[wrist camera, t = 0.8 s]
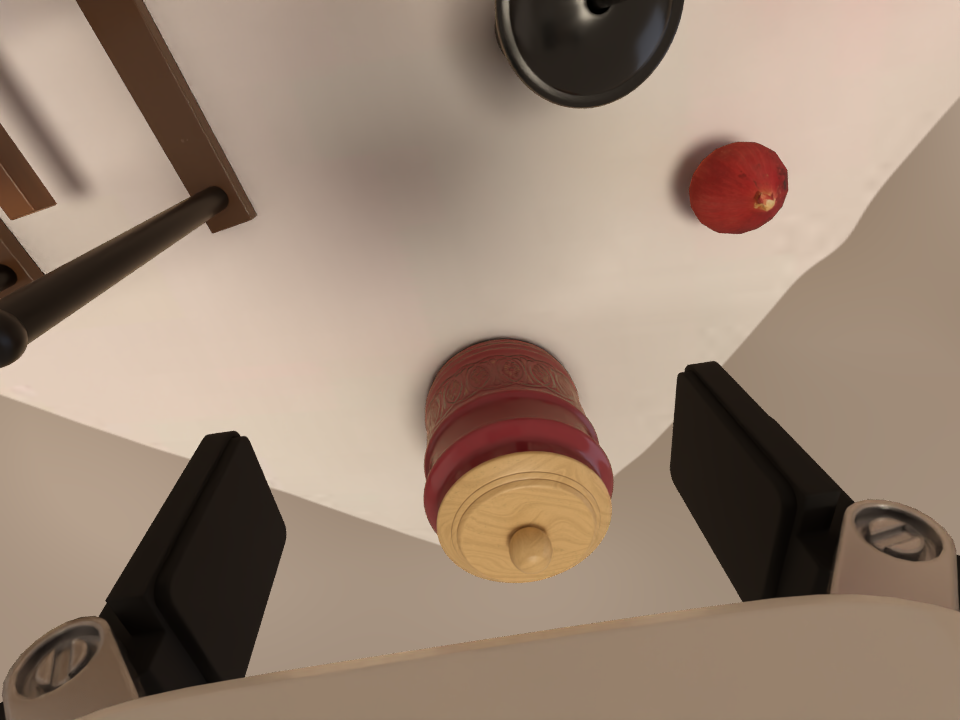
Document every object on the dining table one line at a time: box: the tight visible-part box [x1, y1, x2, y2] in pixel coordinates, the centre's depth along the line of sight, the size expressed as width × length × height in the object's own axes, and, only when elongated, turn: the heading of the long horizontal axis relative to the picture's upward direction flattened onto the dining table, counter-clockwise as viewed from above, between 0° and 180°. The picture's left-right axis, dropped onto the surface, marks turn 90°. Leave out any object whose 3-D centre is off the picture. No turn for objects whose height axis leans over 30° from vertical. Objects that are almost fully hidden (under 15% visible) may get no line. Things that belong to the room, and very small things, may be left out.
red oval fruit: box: [689, 142, 788, 234], centre depth 35 cm, size 6×6×8 cm
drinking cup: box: [495, 0, 684, 108], centre depth 24 cm, size 8×8×20 cm
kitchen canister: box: [424, 339, 613, 583], centre depth 38 cm, size 13×13×18 cm
